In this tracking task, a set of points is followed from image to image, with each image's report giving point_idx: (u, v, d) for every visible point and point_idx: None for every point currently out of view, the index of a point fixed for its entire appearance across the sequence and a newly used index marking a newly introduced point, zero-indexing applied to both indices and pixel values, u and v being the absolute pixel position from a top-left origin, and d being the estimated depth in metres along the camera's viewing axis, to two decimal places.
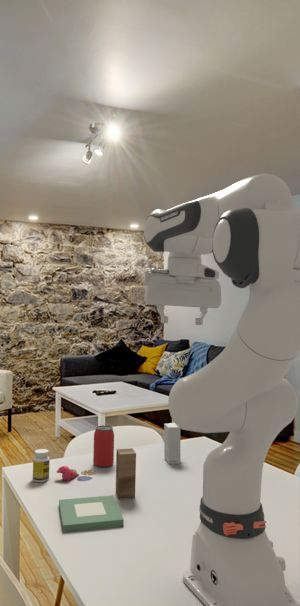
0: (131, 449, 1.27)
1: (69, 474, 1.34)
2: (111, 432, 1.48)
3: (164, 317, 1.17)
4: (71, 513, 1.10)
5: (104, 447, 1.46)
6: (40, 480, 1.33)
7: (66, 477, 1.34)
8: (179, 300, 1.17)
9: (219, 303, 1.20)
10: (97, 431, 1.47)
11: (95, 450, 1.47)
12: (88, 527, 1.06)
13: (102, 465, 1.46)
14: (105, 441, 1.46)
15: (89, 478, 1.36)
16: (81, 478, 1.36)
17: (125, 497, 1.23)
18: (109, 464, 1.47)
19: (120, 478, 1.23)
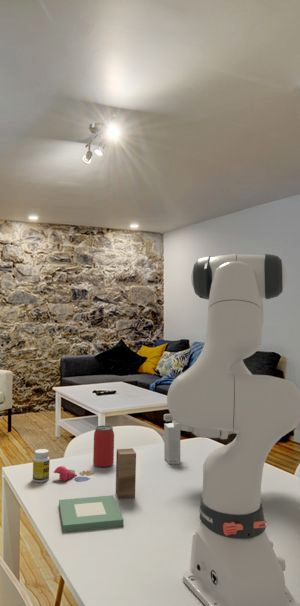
0: (131, 449, 1.27)
1: (66, 474, 1.34)
2: (111, 432, 1.48)
3: (168, 414, 1.34)
4: (71, 513, 1.10)
5: (104, 447, 1.46)
6: (40, 480, 1.33)
7: (63, 477, 1.33)
8: None
9: None
10: (97, 431, 1.47)
11: (95, 450, 1.47)
12: (88, 527, 1.06)
13: (102, 465, 1.46)
14: (105, 441, 1.46)
15: (86, 479, 1.36)
16: (78, 478, 1.35)
17: (125, 497, 1.23)
18: (109, 464, 1.47)
19: (120, 478, 1.23)
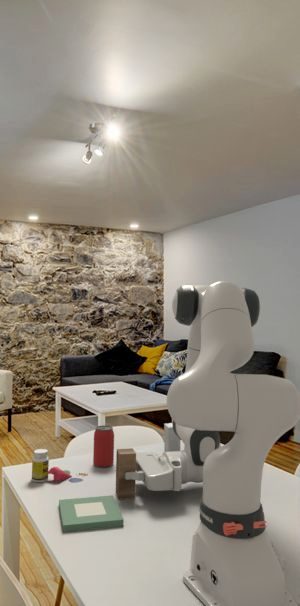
0: (131, 449, 1.27)
1: (59, 475, 1.33)
2: (111, 432, 1.48)
3: None
4: (71, 513, 1.10)
5: (104, 447, 1.46)
6: (40, 480, 1.33)
7: (56, 478, 1.33)
8: (142, 461, 1.28)
9: (152, 475, 1.17)
10: (97, 431, 1.47)
11: (95, 450, 1.47)
12: (88, 527, 1.06)
13: (102, 465, 1.46)
14: (105, 441, 1.46)
15: (80, 480, 1.35)
16: (72, 480, 1.34)
17: (125, 497, 1.23)
18: (109, 464, 1.47)
19: (120, 478, 1.23)
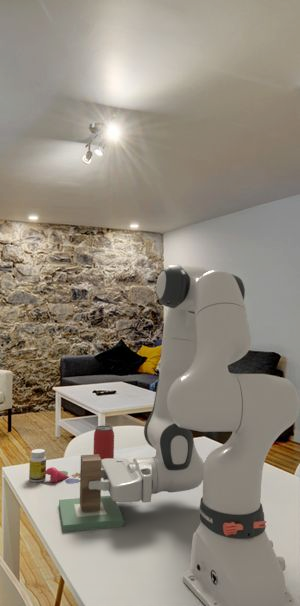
0: (97, 455, 1.15)
1: (56, 476, 1.32)
2: (111, 432, 1.48)
3: None
4: (71, 513, 1.10)
5: (104, 447, 1.46)
6: (38, 480, 1.33)
7: (53, 479, 1.32)
8: (110, 469, 1.16)
9: (117, 485, 1.05)
10: (97, 431, 1.47)
11: (95, 450, 1.47)
12: (88, 527, 1.06)
13: None
14: (105, 441, 1.46)
15: (77, 481, 1.34)
16: (69, 480, 1.34)
17: (89, 509, 1.11)
18: None
19: (83, 488, 1.10)
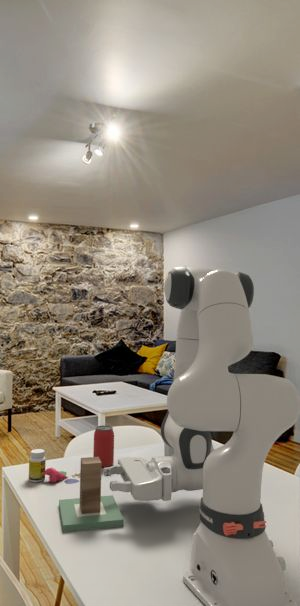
0: (97, 458, 1.15)
1: (55, 476, 1.32)
2: (111, 432, 1.47)
3: (109, 467, 1.19)
4: (71, 513, 1.10)
5: (104, 447, 1.46)
6: (37, 480, 1.33)
7: (52, 479, 1.32)
8: (129, 467, 1.17)
9: (139, 484, 1.06)
10: (97, 431, 1.47)
11: (95, 450, 1.47)
12: (88, 527, 1.06)
13: (102, 465, 1.46)
14: (105, 441, 1.46)
15: (76, 481, 1.34)
16: (68, 481, 1.34)
17: (89, 511, 1.10)
18: (109, 464, 1.47)
19: (83, 490, 1.10)
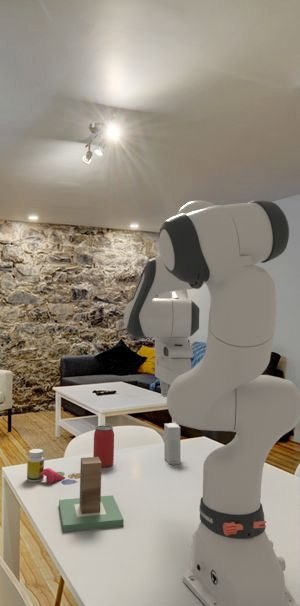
0: (97, 458, 1.15)
1: (52, 477, 1.32)
2: (111, 432, 1.48)
3: (161, 391, 1.26)
4: (71, 513, 1.10)
5: (104, 447, 1.46)
6: (36, 480, 1.33)
7: (49, 480, 1.31)
8: (162, 376, 1.22)
9: None
10: (97, 431, 1.47)
11: (95, 450, 1.47)
12: (88, 527, 1.06)
13: (102, 465, 1.46)
14: (105, 441, 1.46)
15: (73, 482, 1.33)
16: (65, 481, 1.33)
17: (89, 511, 1.10)
18: (109, 464, 1.47)
19: (83, 490, 1.10)
